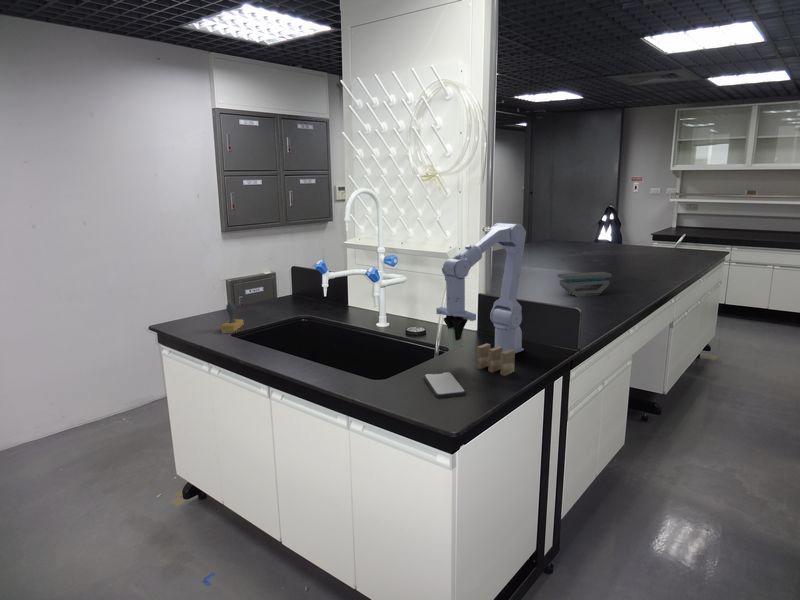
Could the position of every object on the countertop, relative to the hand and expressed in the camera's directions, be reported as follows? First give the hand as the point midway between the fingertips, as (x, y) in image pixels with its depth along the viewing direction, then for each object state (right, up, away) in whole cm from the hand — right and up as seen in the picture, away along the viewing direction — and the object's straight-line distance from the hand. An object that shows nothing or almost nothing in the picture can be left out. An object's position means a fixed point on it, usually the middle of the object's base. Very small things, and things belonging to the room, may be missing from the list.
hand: (455, 339), depth 165 cm
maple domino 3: (+15, -10, -5) cm, 19 cm away
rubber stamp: (-87, -1, +53) cm, 102 cm away
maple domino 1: (+9, -9, +1) cm, 13 cm away
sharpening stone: (+77, +15, +103) cm, 129 cm away
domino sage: (0, -3, +1) cm, 3 cm away
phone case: (-5, -13, -14) cm, 20 cm away
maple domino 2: (+12, -9, -2) cm, 16 cm away
